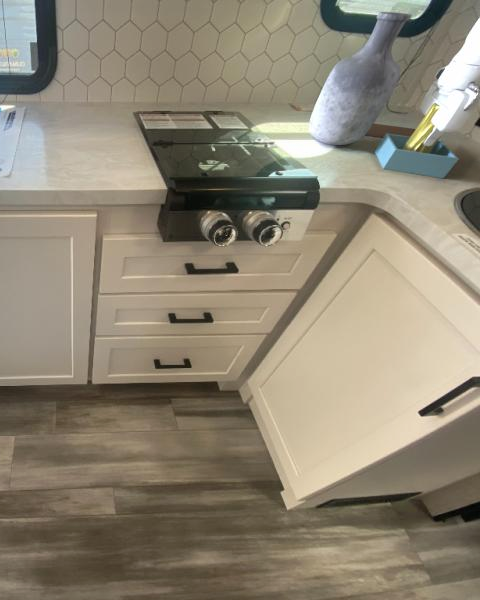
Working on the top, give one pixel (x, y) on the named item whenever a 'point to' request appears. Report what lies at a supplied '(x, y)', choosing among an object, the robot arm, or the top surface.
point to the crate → (414, 157)
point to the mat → (388, 130)
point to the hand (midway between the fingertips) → (422, 140)
